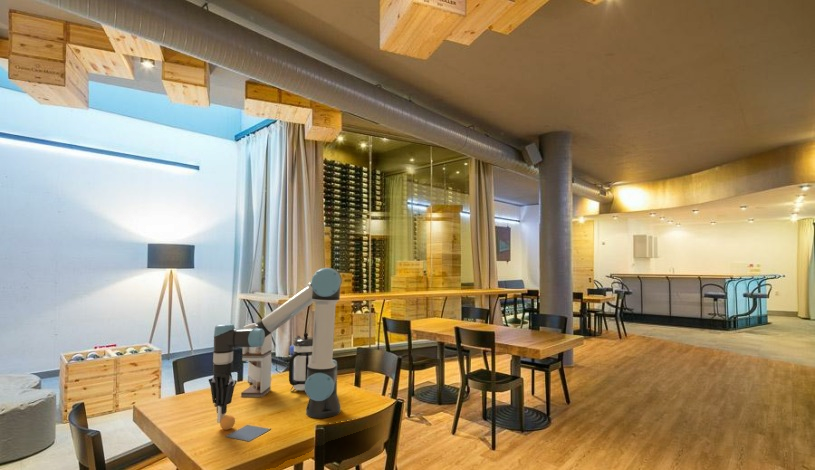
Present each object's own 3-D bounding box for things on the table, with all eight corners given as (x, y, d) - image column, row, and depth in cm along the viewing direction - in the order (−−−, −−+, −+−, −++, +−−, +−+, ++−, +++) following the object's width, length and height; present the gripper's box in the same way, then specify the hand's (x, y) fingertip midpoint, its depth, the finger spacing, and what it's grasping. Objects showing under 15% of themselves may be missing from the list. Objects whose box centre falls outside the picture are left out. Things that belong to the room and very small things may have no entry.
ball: (230, 429, 164) (240, 423, 163) (220, 434, 159) (229, 428, 157) (225, 416, 165) (234, 410, 164) (214, 421, 160) (224, 415, 159)
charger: (242, 385, 222) (254, 378, 237) (259, 386, 221) (269, 378, 236) (243, 377, 222) (254, 370, 237) (259, 377, 222) (269, 370, 237)
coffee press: (288, 387, 217) (289, 331, 219) (318, 385, 222) (318, 330, 224) (288, 397, 200) (289, 336, 203) (321, 394, 205) (321, 335, 208)
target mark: (271, 429, 161) (271, 429, 161) (249, 441, 150) (249, 441, 150) (247, 425, 165) (247, 424, 165) (224, 436, 154) (224, 436, 154)
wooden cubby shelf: (250, 389, 213) (252, 323, 216) (270, 390, 213) (272, 323, 216) (241, 396, 202) (243, 326, 205) (261, 397, 202) (263, 326, 204)
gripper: (242, 361, 166) (240, 420, 164) (218, 359, 171) (216, 416, 169) (228, 365, 159) (226, 427, 157) (203, 363, 164) (201, 422, 162)
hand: (221, 421), depth 163 cm, fingers closed
